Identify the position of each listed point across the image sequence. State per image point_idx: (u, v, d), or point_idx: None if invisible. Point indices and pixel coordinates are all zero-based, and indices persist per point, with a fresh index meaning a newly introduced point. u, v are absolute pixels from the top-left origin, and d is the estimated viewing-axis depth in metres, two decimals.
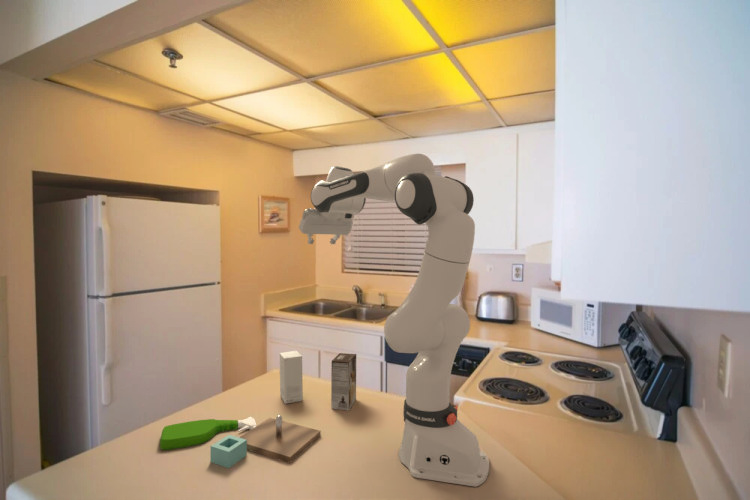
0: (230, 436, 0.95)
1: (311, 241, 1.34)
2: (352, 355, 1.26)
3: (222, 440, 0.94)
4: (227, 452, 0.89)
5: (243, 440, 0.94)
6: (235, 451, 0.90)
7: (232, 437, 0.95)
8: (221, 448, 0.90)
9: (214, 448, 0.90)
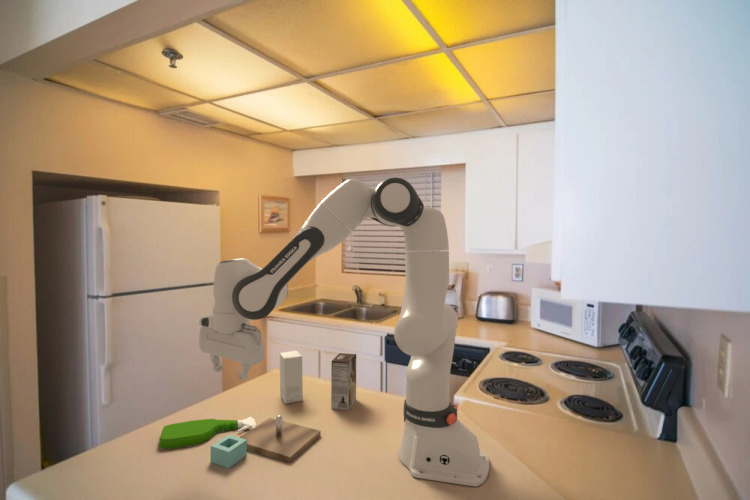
0: (230, 436, 0.95)
1: None
2: (352, 355, 1.26)
3: (222, 440, 0.94)
4: (227, 452, 0.89)
5: (243, 440, 0.94)
6: (235, 451, 0.90)
7: (232, 437, 0.95)
8: (221, 448, 0.90)
9: (214, 448, 0.90)
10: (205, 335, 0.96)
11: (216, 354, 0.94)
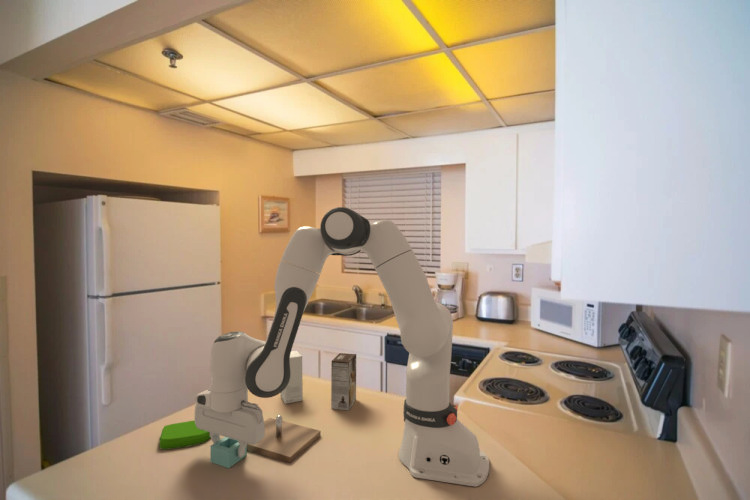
0: None
1: None
2: (352, 355, 1.26)
3: (222, 440, 0.93)
4: (227, 452, 0.89)
5: None
6: (235, 451, 0.90)
7: None
8: (221, 448, 0.90)
9: (214, 448, 0.90)
10: (201, 412, 0.94)
11: (214, 432, 0.92)
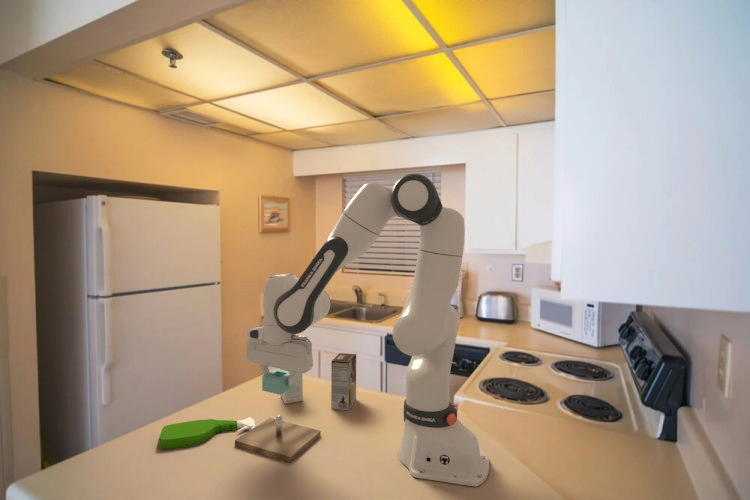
0: (278, 370, 1.04)
1: None
2: (352, 355, 1.26)
3: (272, 372, 1.02)
4: (279, 380, 0.97)
5: None
6: (285, 380, 0.99)
7: (280, 370, 1.03)
8: (273, 377, 0.98)
9: (266, 378, 0.99)
10: (252, 346, 1.02)
11: (265, 364, 1.00)
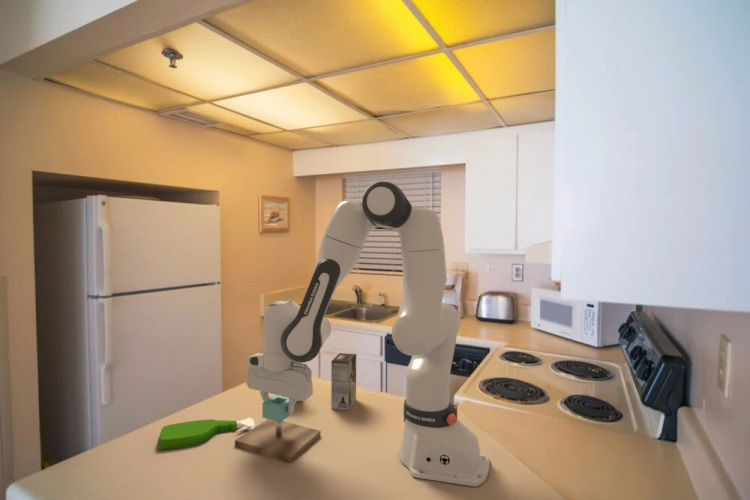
0: (278, 396, 1.04)
1: None
2: (352, 355, 1.26)
3: (272, 398, 1.02)
4: (279, 408, 0.97)
5: None
6: (285, 407, 0.99)
7: (280, 396, 1.04)
8: (273, 404, 0.98)
9: (266, 405, 0.99)
10: (252, 372, 1.02)
11: (265, 390, 1.01)
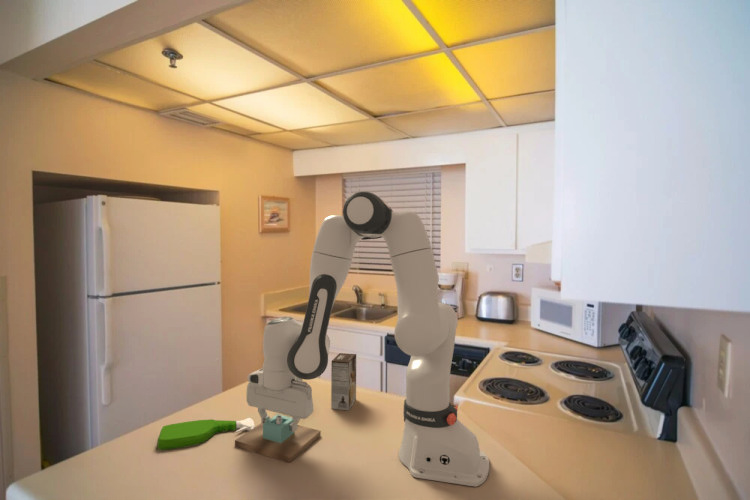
0: None
1: None
2: (352, 355, 1.26)
3: (272, 419, 1.02)
4: (279, 428, 0.97)
5: (291, 419, 1.02)
6: (286, 428, 0.99)
7: None
8: (273, 425, 0.98)
9: (267, 425, 0.99)
10: (253, 390, 1.02)
11: (265, 408, 1.01)
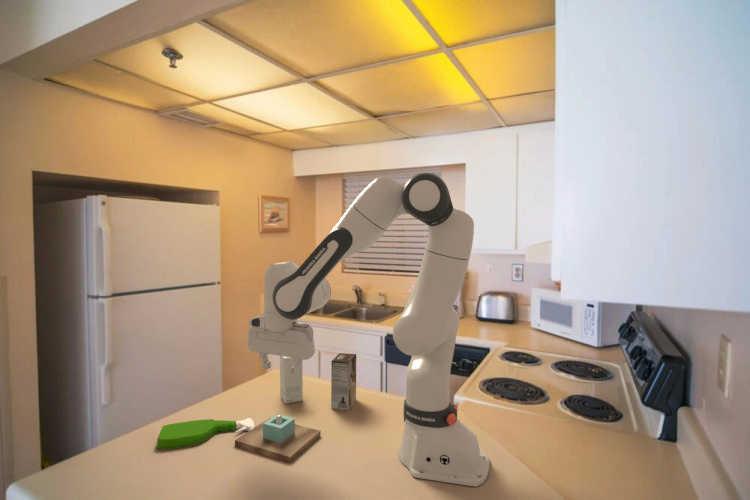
0: None
1: None
2: (352, 355, 1.26)
3: (272, 419, 1.02)
4: (279, 428, 0.97)
5: (291, 419, 1.02)
6: (286, 428, 0.99)
7: None
8: (273, 425, 0.98)
9: (267, 425, 0.99)
10: (254, 335, 1.02)
11: (267, 352, 1.01)
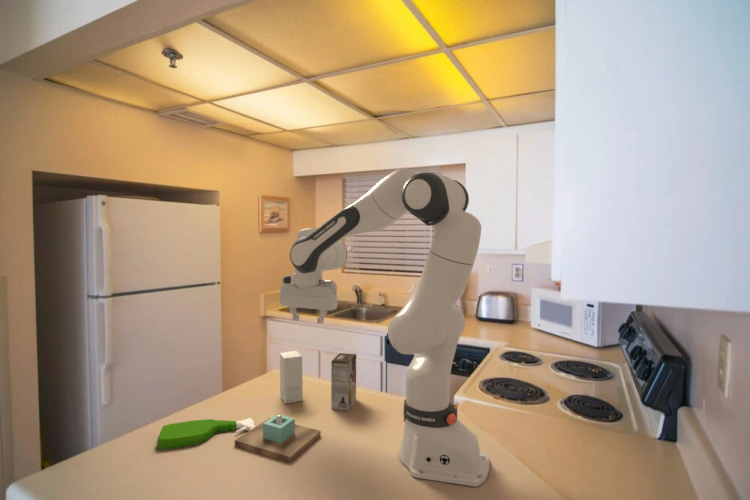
0: None
1: None
2: (352, 355, 1.26)
3: (272, 419, 1.02)
4: (279, 428, 0.97)
5: (291, 419, 1.02)
6: (286, 428, 0.99)
7: None
8: (273, 425, 0.98)
9: (267, 425, 0.99)
10: (285, 291, 1.19)
11: (296, 305, 1.18)
